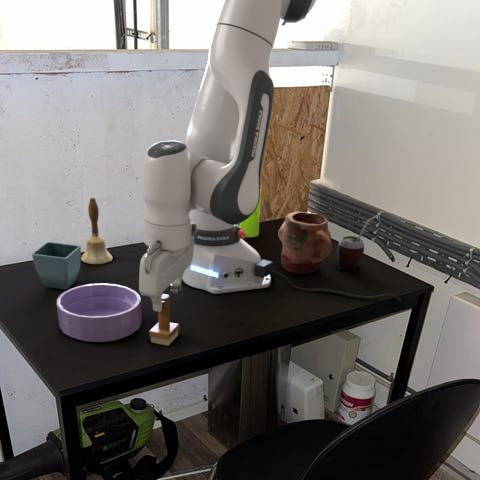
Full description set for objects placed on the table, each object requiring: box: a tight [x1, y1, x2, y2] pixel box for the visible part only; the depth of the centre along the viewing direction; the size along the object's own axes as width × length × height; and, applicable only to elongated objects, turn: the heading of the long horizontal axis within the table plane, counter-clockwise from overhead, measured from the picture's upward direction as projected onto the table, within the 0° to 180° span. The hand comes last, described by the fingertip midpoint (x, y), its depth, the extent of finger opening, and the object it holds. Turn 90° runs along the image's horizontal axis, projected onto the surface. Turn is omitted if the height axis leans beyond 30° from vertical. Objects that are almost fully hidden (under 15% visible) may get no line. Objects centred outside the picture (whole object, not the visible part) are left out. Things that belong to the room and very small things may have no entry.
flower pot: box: [31, 241, 82, 290], centre depth 154 cm, size 9×9×9 cm
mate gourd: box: [336, 214, 379, 273], centre depth 169 cm, size 8×8×15 cm
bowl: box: [56, 283, 143, 343], centre depth 138 cm, size 17×17×6 cm
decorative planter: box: [277, 211, 333, 275], centre depth 167 cm, size 20×12×14 cm, turn 36°
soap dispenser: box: [239, 188, 262, 238], centre depth 188 cm, size 6×7×20 cm
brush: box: [148, 293, 180, 346], centre depth 133 cm, size 6×4×10 cm
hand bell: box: [81, 197, 113, 265], centre depth 167 cm, size 8×8×16 cm
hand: (167, 301), depth 130 cm, fingers open, 8 cm apart
